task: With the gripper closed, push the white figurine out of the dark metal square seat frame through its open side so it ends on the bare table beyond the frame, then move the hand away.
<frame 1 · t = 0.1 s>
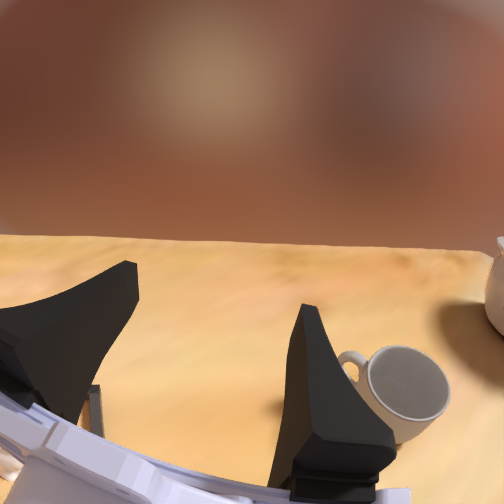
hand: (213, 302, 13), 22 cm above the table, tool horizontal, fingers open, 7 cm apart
teacup: (370, 414, 34), on the table
white figurine: (12, 467, 18), on the table
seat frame: (10, 466, 18), on the table
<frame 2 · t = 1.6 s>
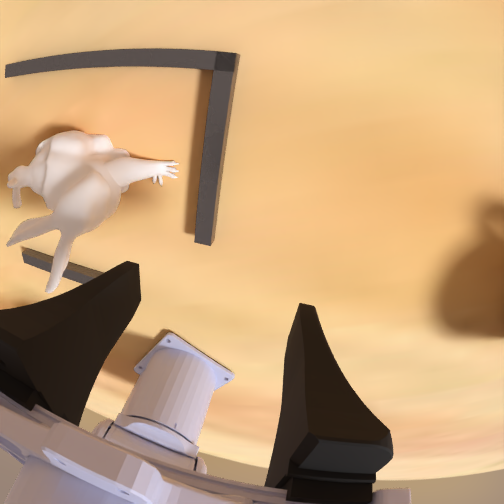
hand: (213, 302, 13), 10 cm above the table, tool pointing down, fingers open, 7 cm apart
white figurine: (103, 178, 23), on the table
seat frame: (91, 179, 23), on the table
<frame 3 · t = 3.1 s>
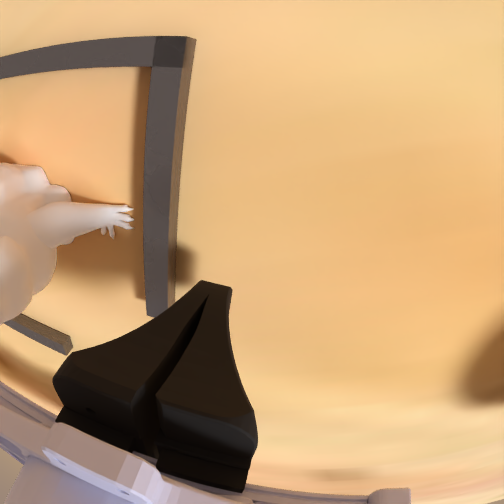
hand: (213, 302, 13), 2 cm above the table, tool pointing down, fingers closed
white figurine: (45, 223, 16), on the table
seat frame: (22, 223, 16), on the table
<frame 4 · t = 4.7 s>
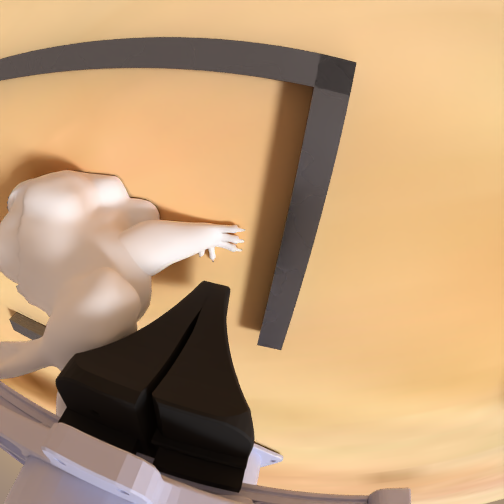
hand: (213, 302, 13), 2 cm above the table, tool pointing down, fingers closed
white figurine: (116, 240, 15), on the table, touching gripper
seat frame: (93, 244, 16), on the table
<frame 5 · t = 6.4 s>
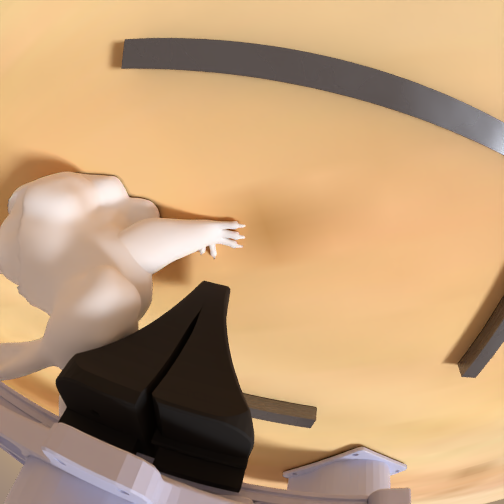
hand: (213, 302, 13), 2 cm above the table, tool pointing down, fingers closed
white figurine: (117, 241, 15), on the table, touching gripper
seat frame: (330, 300, 15), on the table
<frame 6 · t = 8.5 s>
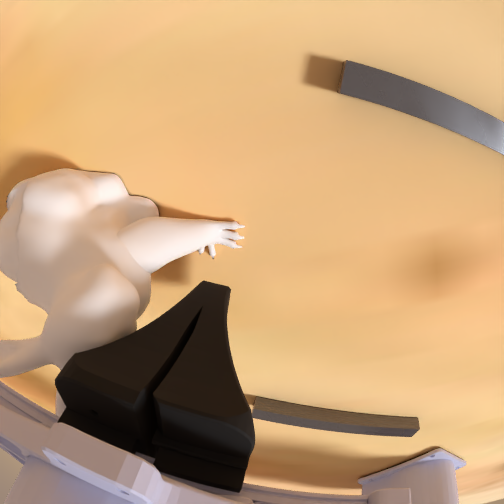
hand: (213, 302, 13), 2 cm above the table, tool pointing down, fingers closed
white figurine: (116, 239, 15), on the table, touching gripper
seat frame: (464, 327, 14), on the table
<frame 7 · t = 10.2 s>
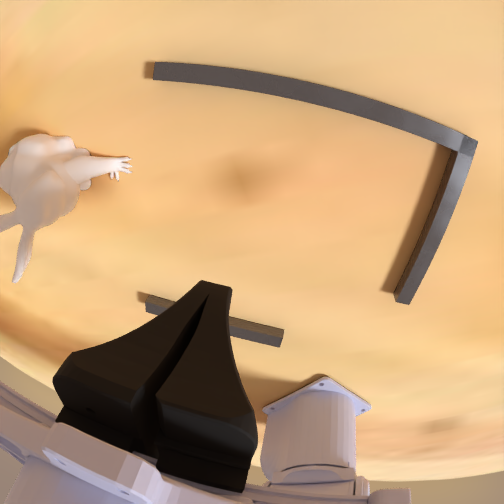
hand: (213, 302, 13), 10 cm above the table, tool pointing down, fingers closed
white figurine: (69, 177, 23), on the table
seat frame: (284, 231, 22), on the table
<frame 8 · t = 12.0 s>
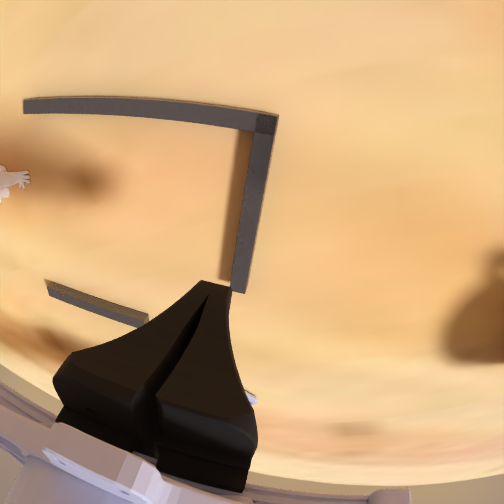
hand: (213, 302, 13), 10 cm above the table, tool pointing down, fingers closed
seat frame: (123, 225, 24), on the table
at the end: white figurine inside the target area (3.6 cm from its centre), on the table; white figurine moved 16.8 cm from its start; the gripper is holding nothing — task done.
